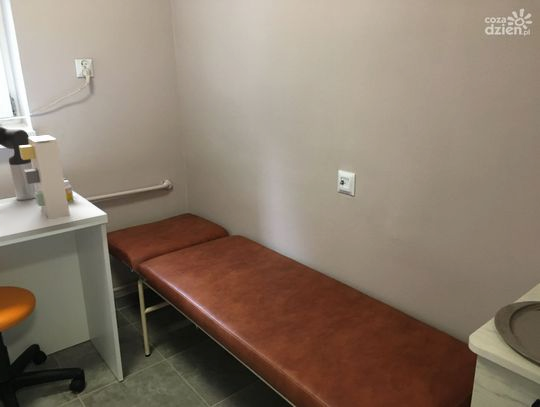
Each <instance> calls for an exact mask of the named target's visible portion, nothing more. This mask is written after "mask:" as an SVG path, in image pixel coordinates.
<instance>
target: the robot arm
mask: <svg viewBox="0 0 540 407" xmlns="http://www.w3.org/2000/svg"><path fill="white" fill-rule="evenodd" d="M28 137H30V136H29V134H28V132H27V131H25V130H24V129H18V128H17V129H11V128H5V127H3V126H0V146H2V147H4V148H7V149H10V150H13V155H12V156H11V157H9V158H8V163H9V168H10V172H11V177H12V182H13V188H14V192H15V197H16V200H19V201H23V200H24V201H25V200H32V199H36V197H35V192H38V188H37V183H32V184H28V183H27V182H26V179H25V174H24V170H26V169H33V168H34V167H33V162H32V159H27V160H23V159H22V158H21V154H20V149H19V146H22V145H29V141H28Z"/></svg>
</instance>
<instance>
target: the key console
mask: <svg viewBox="0 0 540 407" xmlns="http://www.w3.org/2000/svg"><path fill="white" fill-rule="evenodd" d="M28 141H29V145H33V147H34V152H35V157H36V158H35V159H31V163H32V168H36V169H38V173H39V178H40V182H39V183H36V188H37V192H38V191H41V192H42V194H43V199H44V204H45V205H44V206H40V208H41V210H42V211H43V213H44V215H46V217H47V218H48V220H49V219H55V218H60V217H66V216H70V215H71V214H70V213H71V212H70V208H69V202H67V196H66V190H65V184H64V179H63V178H64V174H63V169H62V168H63V167H62V162H61V156H60V150H59V144H58V140H57V138H55V137H54V136H51V135H38V136H37V135H36V136H29V137H28Z"/></svg>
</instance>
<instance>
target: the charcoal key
mask: <svg viewBox="0 0 540 407" xmlns="http://www.w3.org/2000/svg"><path fill="white" fill-rule="evenodd" d="M32 168H33V169H26V170H24V174H25V179H26V182H27V183H28V184H32V183H36V184H37V183H39V182H40V178H39V173H38V169H36V168H34V167H32Z"/></svg>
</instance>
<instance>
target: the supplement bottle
mask: <svg viewBox="0 0 540 407" xmlns="http://www.w3.org/2000/svg"><path fill="white" fill-rule="evenodd" d="M64 184H65V190H66V196H67V202H68V203H71V202H73V201H74V196H73V189H72V186H71V184H70V181H69V180H68V179H67V180H64Z"/></svg>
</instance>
